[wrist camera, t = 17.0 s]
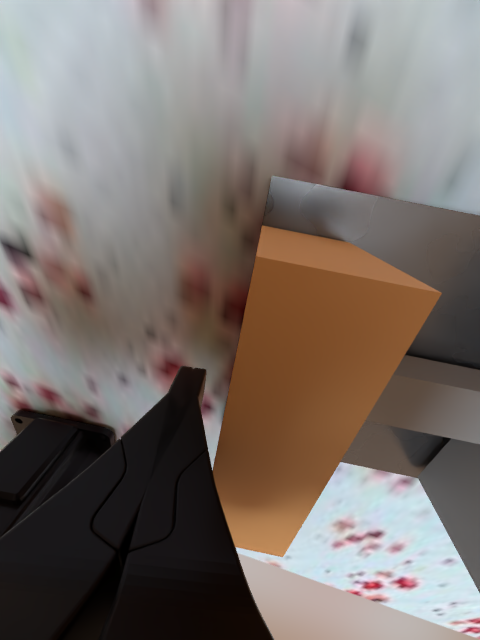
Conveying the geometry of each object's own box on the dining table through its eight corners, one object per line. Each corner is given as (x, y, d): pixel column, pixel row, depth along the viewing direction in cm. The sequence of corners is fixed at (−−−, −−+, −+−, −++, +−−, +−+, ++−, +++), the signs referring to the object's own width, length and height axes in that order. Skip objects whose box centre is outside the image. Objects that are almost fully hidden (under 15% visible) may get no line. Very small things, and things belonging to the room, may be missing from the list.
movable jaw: (453, 484, 13) (546, 626, 9) (219, 435, 13) (196, 551, 9) (674, 271, 8) (1224, 370, 3) (268, 192, 8) (270, 185, 3)
